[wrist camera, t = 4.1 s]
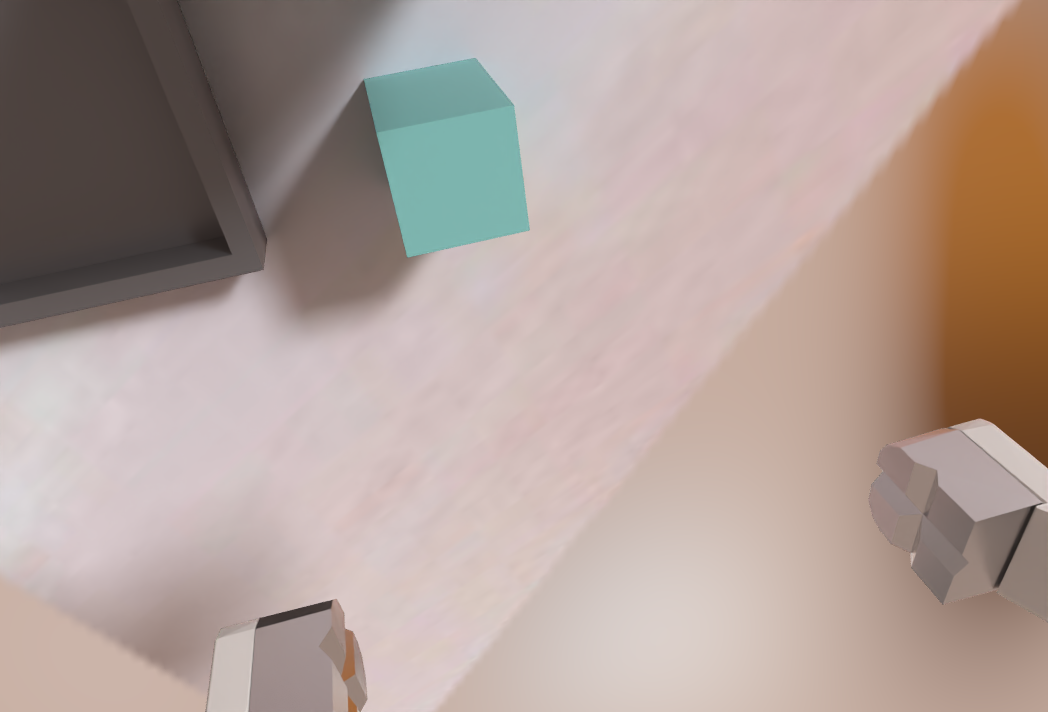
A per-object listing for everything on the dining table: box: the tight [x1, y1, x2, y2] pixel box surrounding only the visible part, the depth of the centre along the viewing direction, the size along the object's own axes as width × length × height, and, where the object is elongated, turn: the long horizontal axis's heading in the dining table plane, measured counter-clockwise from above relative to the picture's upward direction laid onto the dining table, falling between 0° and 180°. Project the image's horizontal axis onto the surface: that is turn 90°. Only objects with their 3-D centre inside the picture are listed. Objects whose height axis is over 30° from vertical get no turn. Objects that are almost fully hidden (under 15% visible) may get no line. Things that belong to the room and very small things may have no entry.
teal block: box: [364, 58, 530, 258], centre depth 24 cm, size 4×4×6 cm
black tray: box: [0, 0, 267, 328], centre depth 22 cm, size 12×12×2 cm
